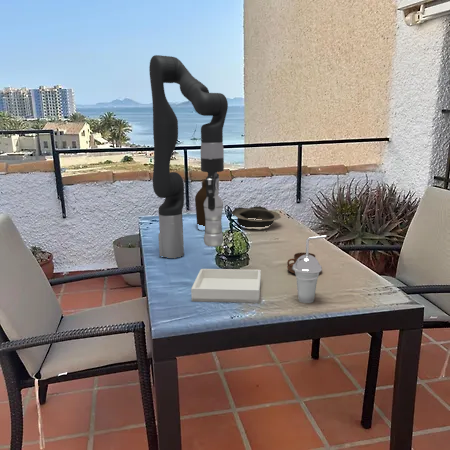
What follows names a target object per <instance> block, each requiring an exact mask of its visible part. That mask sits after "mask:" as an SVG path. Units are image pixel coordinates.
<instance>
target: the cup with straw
mask: <svg viewBox="0 0 450 450" xmlns="http://www.w3.org/2000/svg"><path fill="white" fill-rule="evenodd" d="M326 238H327V235H325V234H324V235H319V236H318V235H317V236H310V237H307V238H306V240H305V253H306V255H302V256H300V257H299V258H298V259H297V261H296V263H295V264H294V265H293V267H292V269H293V270H294V271H295V274H294V275H295V278H296V279H295V280H296V287H297V288H296V289H297V296H298V299H297V300H298V301H299V303H304V304H311V303H313V302H314V301H315V297H316V291H317V284H318V279H319V275H320V273H321V272H322V271H323V267H322V265H321V264H320V263H319V260H318V259H317V257H316V256H315V257H314V256H312V255H308V253H309V249H310V248H309V244H310V243H309V241H310V240H319V239H326Z"/></svg>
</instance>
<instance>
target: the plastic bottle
mask: <svg viewBox="0 0 450 450" xmlns="http://www.w3.org/2000/svg"><path fill="white" fill-rule="evenodd" d="M209 193H212V191H210V192H209ZM219 194H220V189H218V188H217V191H216V192H215V209H208V198H206V199H205V201H204V212H205V219H206V220H205V223H206V224H205V231H204V235H203V243H204V245H205V246H206V247H209V248H211V247H221V246H222V244H223V243H224V234H223V227H222V219H223V216H222V215H223V209H224V208H223V207H224V203H223V202H224V201H223V199H222V198H221V197H220V196H219Z"/></svg>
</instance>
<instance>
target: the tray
mask: <svg viewBox="0 0 450 450" xmlns="http://www.w3.org/2000/svg"><path fill="white" fill-rule="evenodd" d="M261 273H262V270H261V269H241V268H239V269H238V268H237V269H235V268H233V269H231V268H230V269H229V268H228V269H226V268H200V270H199V272H198V274H197V276H196V278H195V280H194V282H193V284H192V286H191V289H190V292H191V293H190V294H191V302H195V303H196V302H197V303H199V302H201V303H205V302H207V303H238V304H239V303H240V304H242V303H243V304H244V303H245V304H260V299H261V298H260V297H261V285H262V284H261V282H262V281H261V280H262V279H261V278H262V275H261Z"/></svg>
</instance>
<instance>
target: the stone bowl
mask: <svg viewBox="0 0 450 450" xmlns="http://www.w3.org/2000/svg"><path fill="white" fill-rule="evenodd" d="M231 212H232V213H231V215H233V216H234V217H236V218H237V220H236V221H237V223H238V224H240V225H242V226H245V227H265V226H269V225H271V224H272V225H273V224H274V222H275V221H277V220H279V219H281V218H282V217H281V215H280V213H278V212H277V211H273V210H269V209H268V208H267V207H263V206H261V205H260V206H258V205H255V206H254V207H242V206H241V207H240V206H239V207H234V209H233V210H232V211H231ZM248 218H256V219H262V220H256V219H255V220H254V219H248ZM240 225H239V226H240ZM272 225H271V226H272Z"/></svg>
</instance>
